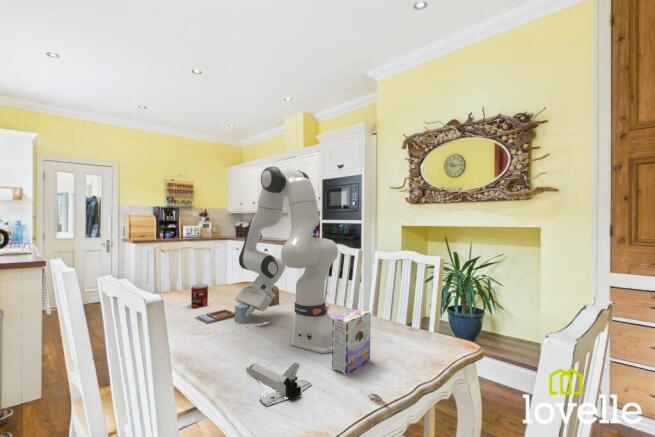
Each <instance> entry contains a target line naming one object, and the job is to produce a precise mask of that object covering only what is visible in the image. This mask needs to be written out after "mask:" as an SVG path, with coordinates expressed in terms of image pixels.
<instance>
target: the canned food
mask: <svg viewBox="0 0 655 437" xmlns="http://www.w3.org/2000/svg"><path fill="white" fill-rule="evenodd" d="M208 292H209V286H208V283H207V284H206V283H198V284H192V285H191V294H190V295H191V300H190V302H191V303H190V304H191V308H192V309H195V310H196V309H200V308H206V307H208V304H209V302H208V301H209V299H208V297H209V293H208Z"/></svg>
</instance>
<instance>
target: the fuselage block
mask: <svg viewBox="0 0 655 437" xmlns="http://www.w3.org/2000/svg"><path fill="white" fill-rule="evenodd" d="M249 309H250V305H247V304H242V305H239V304H238V305H235V306H234V313H235V318H234V322H236V323H238V324H240V325H241V324H246V323H249V322H251V321H252V318H251V317H252V316H251V315H252V313H251V314H250V315H249V316H248V317H246V316H245V315H244V313H245V311H247V310H249Z"/></svg>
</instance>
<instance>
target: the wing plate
mask: <svg viewBox="0 0 655 437" xmlns="http://www.w3.org/2000/svg"><path fill="white" fill-rule="evenodd" d="M197 318H199V319H201V320H203V321H205V322H207V323H211V322H215V319H213V318H211V317H208V316H206V314H199V315H197ZM215 323H216V322H215ZM211 324H212V323H211Z"/></svg>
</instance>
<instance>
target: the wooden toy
mask: <svg viewBox="0 0 655 437" xmlns="http://www.w3.org/2000/svg"><path fill="white" fill-rule="evenodd" d="M272 291H273V293H274V294H275V297H274V298H273V299H272V301H271V303H270V304H269V306H268V307H274V306H277V305H279V304H280V289H279V287H278V286H277V285H275V284H274V286H273V288H272Z"/></svg>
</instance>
